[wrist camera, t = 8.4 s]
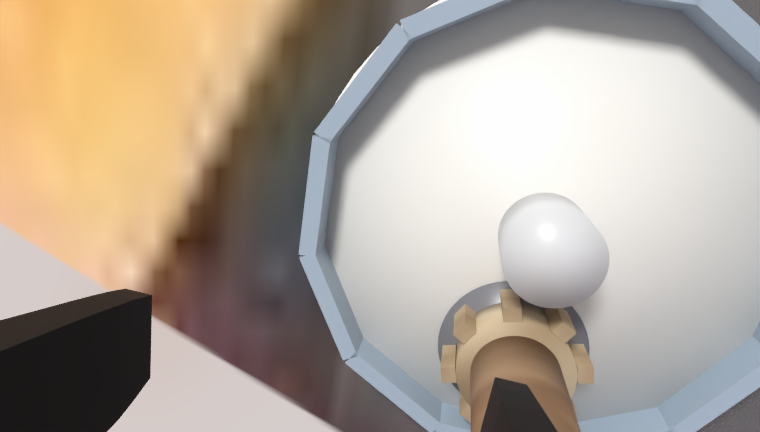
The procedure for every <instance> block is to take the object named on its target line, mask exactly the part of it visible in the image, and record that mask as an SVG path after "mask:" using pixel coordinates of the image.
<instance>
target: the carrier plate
mask: <svg viewBox="0 0 760 432" xmlns="http://www.w3.org/2000/svg"><path fill="white" fill-rule="evenodd" d="M400 22H401V25H402V26H400V25H398V24H397V23H396V24H395V26H394V27H393V28H392V30H391V31H390V32H389V34H388V35H387V36H386V38H385V39H384V40H383V42H382V43H381V44H380V45H379V46H378V47H377V48H376V49H375V50H374V52H373V53H372V54H371V55H370V56H369V57H368V58H367V60H366V61H365V62H364V63H363V64H362V65H361V67H360V68H359V69H358V70H357V71H356V72H355V74H354V75H353V77H352V78H351V80H350V81H349V83H348V84H347V86H346V87H345V89H344V90H343V92H342V93H341V95H340V96H339V98H338V100H337V101H336V103H335V105H334V106H333V108H332V109H331V110H330V112H329V113H328V114H327V116H326V117H325V118H324V120H323V121H322V122H321V124H320V125H319V126H318V128H317V129H316V130H315V133H316V135H313V137H312V146H311V154H310V163H309V171H308V180H307V188H306V197H305V205H304V214H303V222H302V231H301V239H300V248H299V254H300V255H301V257H300V261H301V263H302V266H303V268H304V270H305V273H306V275H307V277H308V280H309V282H310V284H311V287H312V289H313V291H314V294H315V296H316V298H317V301H318V303H319V305H320V308H321V310H322V312H323V315H324V317H325V319H326V322H327V324H328V326H329V329H330V331H331V333H332V336H333V338H334V341H335V343H336V345H337V348H338V350H339V352H340V355H341V357H342V359H343V360H346V359H347V360H346V362H345V363H346V364H347V365H348V366H349V367H351V368H352V369H353V370H354V371H355V372H357V373H358V374H359V375H360V376H362V377H363V378H364V379H365V380H366V381H368V382H369V383H370V384H371V385H372V386H374V387H375V388H376V389H377V390H379V391H380V392H381V393H382V394H383V395H385V396H386V397H387V398H388V399H390V400H391V401H392V402H393V403H394V404H396V405H397V406H398V407H399V408H401V409H402V410H403V411H404V412H405V413H407V414H408V415H409V416H410V417H412V418H413V419H414V420H415V421H416V422H418V423H419V424H420V425H421V426H423V427H424V428H425V429H426V430H427V431H429V432H434V431H435V432H471V423H470V422H469V421H468V420H466V419H465V418H464V417H463V416H462V415H460V414H459V407H460V390H459V388H458V384H457V381H456V383H442V378H441V358H442V347H443V345H456V349H457V340H458V339H457V338H456V337H455V336H454V335H453V328H454V314H455V313H456V312H457V311H458V310H459V309H460V308H461V307H462V306H463V305H464V304H466V305H467V306H469V307H470V308H471V309H472V310H473V311H475V312H476V313H477V312H478V311H480V310H481V309H483V308H485V307H488V306H491V305H494V304H498V303H501V299H500V289H513V291H514V292H515V293H516V294H517V295H518V296H519V298H520V302H521V303H525V304H528V305H532V306H534V307H537V308H539V309H541V310H543V311H545V310H546V309H547V308H563V309H565V310H566V311H567V312H568V314H569V316H570V319H571V321H572V324H573V326H574V328H575V331H576V333H577V334H575V335H574V336H573V337H572V338H571V339H570V340H569V341H568V344H584V346H585V349H586V351H587V353H588V356H589V358H590V360H591V363H592V365H593V367H594V384H578V383H577V385H576V389H575V392H574V394H573V396H572V401H573V404H574V407H575V410H576V414H577V416H576V418H577V421H578V425H579V428H580V431H581V432H696V431H698V430H699V429H700V428H702V427H703V426H705V425H706V424H708V423H709V422H711V421H712V420H713V419H715V418H716V417H718V416H719V415H721V414H722V413H723V412H725V411H726V410H728V409H729V408H731V407H732V406H734V405H735V404H736V403H738V402H739V401H741V400H742V399H744V398H745V397H747V396H748V395H749V394H751V393H752V392H754V391H755V390H757V389H758V388H759V387H760V26H759V25H758V24H757V23H756V22H755V21H754V20H753V19H752V18H751V17H749V16H748V15H747V14H746V13H745V12H744V11H743V10H742V9H741V8H740V7H739V6H737V5H736V4H735V3H734V2H733V1H732V0H440V1H438V2H436V3H434V4H432V5H431V6H429V7H428V8H426V9H425V10H423V11H421V12H418V13H416V14H414V15H411V16H409V17H407V18H404V19H402V20H400Z"/></svg>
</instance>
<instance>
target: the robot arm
mask: <svg viewBox="0 0 760 432" xmlns="http://www.w3.org/2000/svg"><path fill="white" fill-rule="evenodd" d="M151 312H152V295H149V294H145V293H141V292H136V291H132V290H128V289H122V290H116V291H111V292H106V293H102V294H97V295H94V296H90V297H86V298H82V299H78V300H74V301H70V302H67V303H63V304H59V305H56V306H52V307H48V308H45V309H41V310H38V311H34V312H30V313H26V314H23V315H19V316H16V317H11V318H8V319H4V320H0V432H107V431H108V430H109V429H110V428H111V427H112V426H113V425H114V424H115V423H116V421H117V420H118V419H119V418H120V417H121V416H122V414H123V413H124V412H125V411H126V409H127V408H128V407H129V405H130V404H131V403H132V401H133V400H134V399H135V398H136V396H137V395H138V394H139V392H140V391H141V390H142V388H143V387H144V385H145V384H146V383H147V381H148V380H149V379H150V361H151V360H150V359H151ZM480 432H558V431H557V430H556V428H555V427H554V425H553V424H552V422H551V421H550V419H549V418H548V416H547V414H546V413H545V411H544V410H543V408H542V407H541V405H540V404H539V402H538V401H537V399H536V398H535V396H534V394H533V393H532V391H531V390H530V388H529V387H528V385H527V384H522V383H518V382H514V381H510V380H506V379H501V378H497V377H495V379H494V382H493V386H492V390H491V393H490V397H489V401H488V404H487V408H486V412H485V416H484V419H483V423H482V427H481V430H480Z"/></svg>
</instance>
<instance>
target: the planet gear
mask: <svg viewBox="0 0 760 432" xmlns="http://www.w3.org/2000/svg"><path fill="white" fill-rule="evenodd" d="M500 299H501V303H498V304H494V305H491V306H488V307H485V308H483V309H481V310H480V311H478V312H477V313H476V312H475V311H473V310H472V309H471V308H470V307H469V306H467V305H466V304H464V305H463V306H462V307H461V308H460V309H459V310H458V311H457V312H456V313H455V314H454V328H453V335H454V336H455V337H456V338H457V339H458V340H457V349H456V345H443V347H442V358H441V378H442V383H456V381H457V384H458V388H459V390H460V407H459V414H460V415H462V416H463V417H464V418H465V419H466V420H468V421H469V422H470V423H471V432H480V430H481V427H482V423H483V419H484V416H485V412H486V408H487V404H488V401H489V397H490V393H491V390H492V386H493V382H494V379H495V377H497V378H501V379H506V380H510V381H514V382H518V383H522V384H527V385H528V387H529V388H530V390H531V391H532V393H533V394H534V396H535V398H536V399H537V401H538V402H539V404H540V405H541V407H542V408H543V410H544V411H545V413H546V414H547V416H548V418H549V419H550V421H551V422H552V424H553V425H554V427H555V428H556V430H557V431H558V432H581V431H580V428H579V425H578V421H577V418H576V416H577V414H576V410H575V407H574V404H573V401H572V396H573V394H574V392H575V389H576V385H577V383H578V384H594V367H593V365H592V363H591V360H590V358H589V356H588V353H587V351H586V349H585V346H584V344H568V341H569V340H570V339H571V338H572V337H573V336H574V335H575V334H577V333H576V331H575V328H574V326H573V324H572V321H571V319H570V316H569V314H568V312H567V311H566V310H565V309H563V308H547V309H546V310H545V311H543V310H541V309H539V308H537V307H534V306H532V305H528V304H525V303H521V302H520V298H519V296H518V295H517V294H516V293H515V292H514V291H513V289H500Z"/></svg>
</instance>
